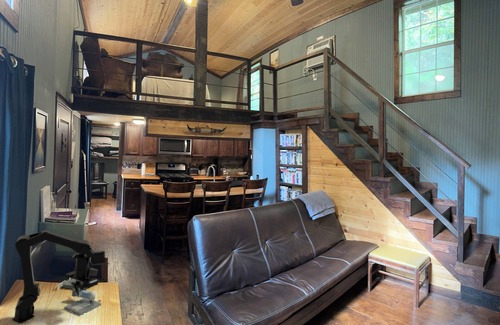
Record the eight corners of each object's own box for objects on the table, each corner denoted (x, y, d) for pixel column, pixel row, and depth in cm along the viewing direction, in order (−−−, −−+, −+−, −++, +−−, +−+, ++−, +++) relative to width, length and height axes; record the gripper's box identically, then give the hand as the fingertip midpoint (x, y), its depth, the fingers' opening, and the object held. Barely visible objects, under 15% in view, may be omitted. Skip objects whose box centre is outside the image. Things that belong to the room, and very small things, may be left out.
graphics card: (55, 284, 165) (69, 276, 177) (55, 291, 165) (68, 282, 177) (84, 288, 165) (95, 279, 177) (83, 294, 165) (95, 285, 177)
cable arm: (71, 296, 155) (72, 290, 155) (75, 294, 158) (76, 287, 158) (92, 300, 153) (93, 294, 153) (96, 298, 156) (96, 291, 156)
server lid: (80, 315, 142) (80, 311, 142) (64, 308, 147) (64, 304, 147) (101, 305, 153) (101, 301, 153) (85, 299, 158) (85, 295, 158)
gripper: (108, 265, 151) (105, 294, 151) (83, 257, 158) (81, 285, 158) (89, 271, 141) (86, 303, 141) (64, 263, 148) (61, 293, 148)
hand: (79, 295), depth 147 cm, fingers closed
